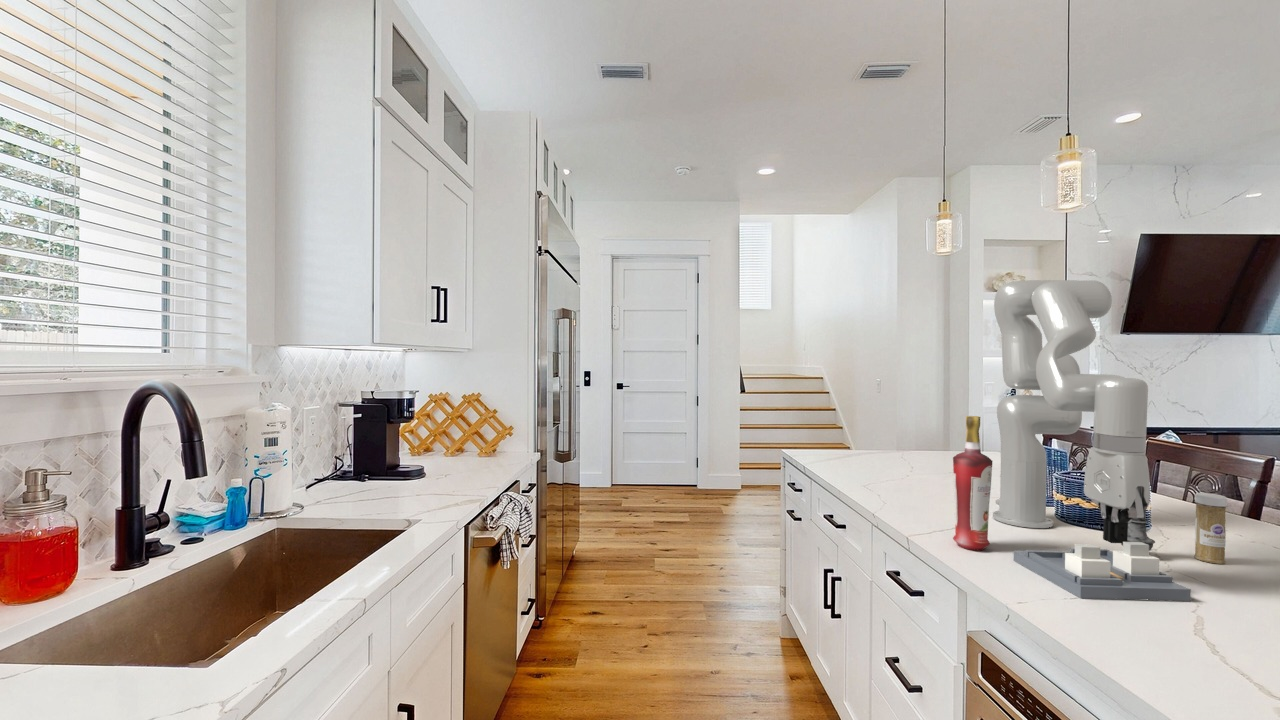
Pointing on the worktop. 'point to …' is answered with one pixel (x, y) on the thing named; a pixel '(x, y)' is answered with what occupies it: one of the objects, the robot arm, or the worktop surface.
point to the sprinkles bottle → (1210, 528)
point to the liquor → (972, 491)
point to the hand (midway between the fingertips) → (1115, 541)
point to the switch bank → (1101, 579)
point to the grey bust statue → (1139, 531)
